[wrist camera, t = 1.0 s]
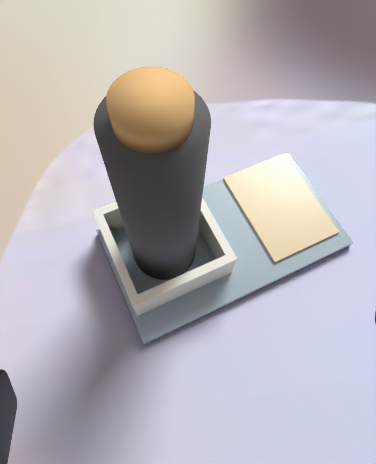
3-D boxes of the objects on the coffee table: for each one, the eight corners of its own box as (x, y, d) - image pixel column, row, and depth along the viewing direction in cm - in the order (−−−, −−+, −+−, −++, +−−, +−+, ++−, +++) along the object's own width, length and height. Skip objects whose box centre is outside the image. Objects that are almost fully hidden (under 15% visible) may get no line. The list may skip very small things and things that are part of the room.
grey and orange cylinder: (206, 264, 23) (236, 122, 11) (148, 290, 22) (113, 167, 10) (179, 213, 24) (180, 41, 13) (124, 236, 24) (69, 74, 12)
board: (349, 245, 24) (371, 226, 21) (143, 345, 21) (138, 337, 18) (286, 157, 27) (298, 130, 24) (97, 233, 24) (87, 212, 21)
